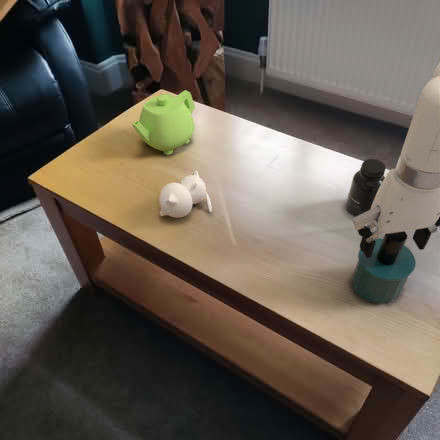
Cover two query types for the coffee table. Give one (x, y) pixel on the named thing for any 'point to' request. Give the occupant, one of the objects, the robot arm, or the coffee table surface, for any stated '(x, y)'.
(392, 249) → the lid
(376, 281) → the tin
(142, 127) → the teapot
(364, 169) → the supplement bottle
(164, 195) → the cat figurine
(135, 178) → the coffee table surface
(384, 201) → the robot arm
